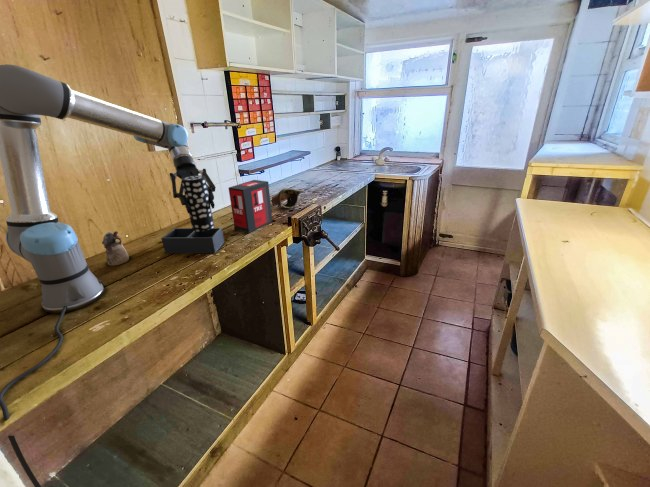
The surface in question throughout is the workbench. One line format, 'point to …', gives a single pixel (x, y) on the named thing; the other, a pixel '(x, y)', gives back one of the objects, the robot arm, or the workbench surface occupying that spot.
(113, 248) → the figurine
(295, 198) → the pot
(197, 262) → the workbench surface
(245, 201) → the cleaning product box
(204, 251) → the tray
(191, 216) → the spotted tube
